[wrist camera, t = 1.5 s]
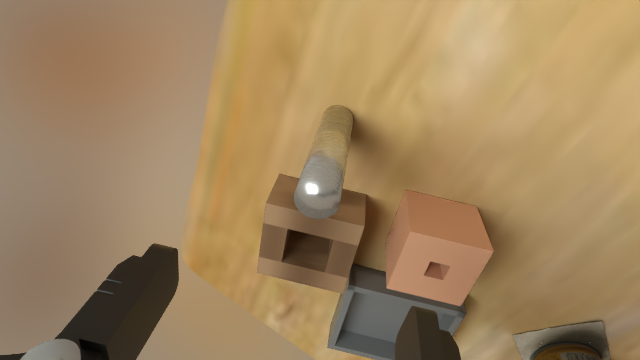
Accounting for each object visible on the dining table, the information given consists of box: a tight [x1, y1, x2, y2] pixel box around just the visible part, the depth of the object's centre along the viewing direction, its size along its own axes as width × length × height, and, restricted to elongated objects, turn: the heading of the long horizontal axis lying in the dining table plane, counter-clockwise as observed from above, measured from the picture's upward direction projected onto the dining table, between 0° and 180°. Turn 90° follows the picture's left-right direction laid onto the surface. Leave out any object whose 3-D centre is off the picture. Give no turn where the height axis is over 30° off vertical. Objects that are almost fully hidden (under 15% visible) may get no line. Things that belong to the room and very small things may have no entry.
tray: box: [327, 264, 466, 360], centre depth 34 cm, size 10×9×2 cm
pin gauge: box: [294, 105, 353, 219], centre depth 21 cm, size 2×2×10 cm
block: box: [386, 190, 494, 306], centre depth 27 cm, size 6×6×5 cm
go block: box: [257, 174, 366, 293], centre depth 29 cm, size 7×7×4 cm
